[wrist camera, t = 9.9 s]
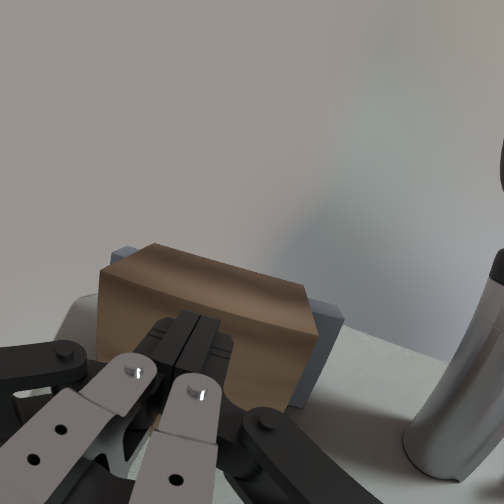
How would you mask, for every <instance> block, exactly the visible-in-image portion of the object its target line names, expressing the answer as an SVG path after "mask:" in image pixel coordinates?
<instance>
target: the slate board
mask: <svg viewBox="0 0 504 504" xmlns="http://www.w3.org/2000/svg"><path fill="white" fill-rule="evenodd" d="M137 251H139V249H136V248H133V247H130V246H126V247H124V248H121V249H119V250H117V251H114V252H112V254H111V262H110V265H111V264H113V263H115V262H117V261H119V260H121V259H123V258H125V257H127V256H129V255H131V254H133V253H135V252H137ZM308 301H309V305H310V308H311V311H312V315H313V318H314V321H315V325H316V328H317V332H318V335H319V336H318V339H317V341H316V343H315V346H314V348H313V350H312V353H311V355H310V357H309V360H308V362H307V364H306V366H305V369H304V371H303V373H302V375H301V378H300V380H299V382H298V384H297V386H296V388H295V390H294V393H293V395H292V397H291V399H290V401H289V403H288V405H289V406H295V407H300V408H303V407H304V405H305V403H306V401H307V399H308V398H309V396H310V394H311V392H312V390H313V388H314V386H315V384H316V382H317V380H318V378H319V376H320V373H321V371H322V369H323V367H324V365H325V363H326V361H327V359H328V356H329V354H330V352H331V350H332V348H333V345H334V343H335V341H336V339H337V336H338V334H339V332H340V329H341V327H342V325H343V322H344V318H343V316H342V314H341V312H340V310H339V308H338V306H337V305H333V304H329V303H325V302H322V301H317V300H314V299H310V298H308Z"/></svg>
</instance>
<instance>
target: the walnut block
mask: <svg viewBox="0 0 504 504" xmlns="http://www.w3.org/2000/svg"><path fill="white" fill-rule="evenodd" d="M183 309H185V310H189V311H192V312H196V313H199V314H201V316H202V315H206V316H210V317H213V318H217V319H220V326H219V330H218V332H221V333H224V334H228V335H231V338H232V340H233V342H234V346H233V350H232V354H231V358H230V362H229V366H228V370H227V374H226V378H225V382H224V387H223V389H224V393H225V395H226V397H227V398H228V399H229V400H230V401H231V402H232V403H233V404H234V405H236V406H238V407H239V408H241V409H244V410H246V411H249V410H250V409H252V408H256V407H270V408H274V409H276V410H279V411H281V412H282V413H284V411H285V409H286V407H287V405H288V403H289V401H290V399H291V397H292V395H293V393H294V390H295V388H296V386H297V384H298V382H299V380H300V378H301V375H302V373H303V371H304V369H305V366H306V364H307V362H308V360H309V357H310V355H311V353H312V350H313V348H314V346H315V343H316V341H317V339H318V336H319V335H318V332H317V328H316V325H315V321H314V318H313V315H312V311H311V308H310V305H309V301H308V298H307V295H306V292H305V288H304V286H303V285H300V284H296V283H293V282H289V281H286V280H282V279H278V278H275V277H271V276H268V275H264V274H260V273H257V272H253V271H249V270H246V269H243V268H239V267H235V266H232V265H228V264H225V263H221V262H218V261H214V260H211V259H207V258H204V257H200V256H197V255H194V254H190V253H187V252H183V251H180V250H176V249H173V248H169V247H166V246H163V245H160V244H156V243H153V244H151V245H149V246H147V247H145V248H143V249H141V250H139V251H137V252H135V253H133V254H131V255H129V256H127V257H125V258H123V259H121V260H119V261H117V262H115V263H113V264H111V265H109V266H107V267H105V268H104V269H102V270H100V277H99V291H98V308H97V361H98V362H104V363H109V362H110V361H111V360H112V359H114V358H115V357H116V356H118V355H120V354H123V353H132V352H133V351H134V349H135V348H136V347H137V346H138V344H139V343H140V342H141V341H142V339H143V338H144V337H145V336H146V335H147V333H148V332H149V331H150V329H152V327H153V326H154V324H155V323H156V322H157V321H158V320H161V319H163V318H165V317H169V318H173V319H176V318H177V317H178V315H179V314H180V312H181V311H182V310H183ZM161 417H162V415H160V414H158V416H157V418H156V420H155V422H154V424H153V430H154V429H158V426H159V423H160V420H161ZM153 430H152V432H153ZM152 432H151V434H150V435H149V436H150V437H151V435H152Z"/></svg>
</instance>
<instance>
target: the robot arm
mask: <svg viewBox="0 0 504 504" xmlns="http://www.w3.org/2000/svg"><path fill="white" fill-rule="evenodd" d="M500 180H501V184H502V189H503V191H504V141H503V146H502V153H501V160H500ZM219 326H220V319H217V318H213V317H210V316H206V315H202V316H201V314H199V313H196V312H192V311H189V310H185V309H183V310H182V311H181V312H180V314H179V315H178V317H177V318H176V319H173V318H169V317H165V318H163V319H161V320H158V321H157V322H156V323H155V324H154V326H153V327H152V329H150V331H149V332H148V333H147V335H146V336H145V337H144V338H143V339H142V341H141V342H140V343H139V344H138V346H137V347H136V348H135V349H134V351H133V352H132V353H123V354H120V355H118V356H116V357H115V358H114V359H112V360H111V361H110V362H109V363H104V362H98V361H93V360H88V359H87V356H86V351H85V350H84V348H83V347H82V346H81V345H79V344H77V343H75V342H72V341H67V340H59V341H52V342H44V343H37V344H28V345H20V346H11V347H1V348H0V504H212V498H213V489H214V479H215V470H216V468H218V469H220V470H222V471H223V473H224V476H225V478H226V480H227V481H228V482H229V484H230V485H231V487H232V488H233V489H234V491H235V492H236V493H237V495H238V496H239V497H240V498H241V500H242V501H243V502H244V504H383V503H382V502H381V501H379V500H378V499H377V498H376V497H374V496H373V495H372V494H371V493H370V492H368V491H367V490H366V489H365V488H364V487H362V486H361V485H360V484H359V483H358V482H356V481H355V480H354V479H353V478H352V477H351V476H350V475H348V474H347V473H346V472H345V471H344V470H343V469H342V468H341V467H339V466H338V465H337V464H336V463H335V462H334V461H333V460H332V459H331V458H330V457H328V456H327V455H326V454H325V453H324V452H323V451H322V450H321V449H320V448H319V447H318V446H317V445H316V444H315V443H314V442H313V441H312V440H311V439H310V438H309V437H308V436H306V435H305V434H304V433H303V432H302V431H301V430H300V429H299V428H298V427H297V426H296V425H295V424H294V423H293V422H292V421H291V420H290V418H289V417H287V416H286V415H285V414H284V413H282V412H281V411H279V410H276V409H274V408H270V407H256V408H252V409H250V410H249V411H246V410H244V409H241V408H239V407H238V406H236V405H234V404H233V403H232V402H231V401H230V400H229V399H228V398H227V397H226V395H225V393H224V389H223V387H224V382H225V378H226V374H227V370H228V366H229V362H230V358H231V354H232V350H233V346H234V342H233V340H232V338H231V335H228V334H224V333H221V332H218V330H219ZM44 387H51V391H52V393H50V394H45V395H39V396H33V397H27V398H17V397H15V396H14V395H13V393H15V392H18V391H25V390H31V389H38V388H44ZM158 414H160V415H162V417H161V420H160V423H159V426H158V429H154V430H153V424H154V422H155V420H156V418H157V416H158ZM152 430H153V432H152ZM151 432H152V435H151V437H150V440H149V443H148V446H147V449H146V452H145V455H144V458H143V461H142V464H141V467H140V470H139V473H138V476H137V479H136V481H135V480H130V479H127V475H128V472H129V469H130V467H131V465H132V464H133V462H134V460H135V459H136V457H137V455H138V454H139V452H140V450H141V449H142V447H143V445H144V444H145V442H146V440H147V439H148V437H149V435H150V434H151ZM503 437H504V249H501V250H500V251H498V253H497V255H496V257H495V259H494V262H493V265H492V268H491V271H490V274H489V278H488V280H487V283H486V285H485V288H484V291H483V293H482V296H481V299H480V301H479V304H478V306H477V309H476V311H475V313H474V315H473V318H472V320H471V322H470V324H469V327H468V329H467V331H466V333H465V335H464V337H463V339H462V341H461V343H460V345H459V347H458V349H457V351H456V353H455V354H454V356H453V358H452V360H451V362H450V364H449V365H448V367H447V369H446V371H445V372H444V374H443V376H442V377H441V379H440V381H439V382H438V384H437V386H436V387H435V389H434V390H433V392H432V393H431V395H430V397H429V398H428V400H427V401H426V403H425V404H424V406H423V407H422V409H421V410H420V411H419V413H418V414H417V415H416V416H415V418H414V419H413V421H412V422H411V424H410V425H409V427H408V428H407V429H406V431H405V433H404V438H403V442H404V447H405V450H406V453H407V455H408V456H409V458H410V460H411V461H412V462H413V463H414V464H415V465H416V466H417V467H418V468H419V469H420V470H422V471H423V472H425V473H426V474H428V475H430V476H433V477H436V478H439V479H457V480H459V481H461V482H463V481H464V480H465V479H466V478H467V477H468V476H469V475H470V474H471V473H472V472H473V471H474V470H475V469H476V468H477V467H478V466H479V465H480V464H481V463H482V461H483V460H484V459H485V458H486V457H487V456H488V455H489V454H490V453H491V451H492V450H493V449H494V448H495V447H496V446H497V444H498V443H499V442H500V441H501V440H502V438H503Z"/></svg>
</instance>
